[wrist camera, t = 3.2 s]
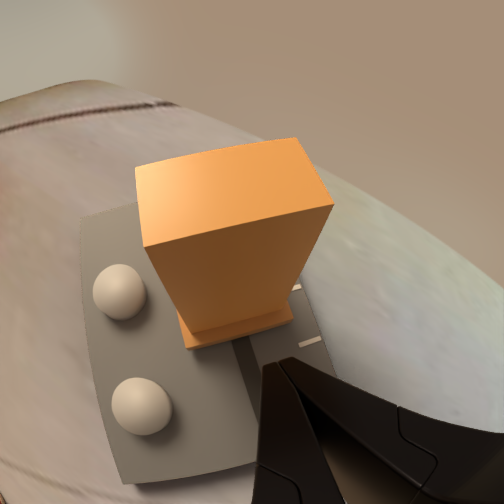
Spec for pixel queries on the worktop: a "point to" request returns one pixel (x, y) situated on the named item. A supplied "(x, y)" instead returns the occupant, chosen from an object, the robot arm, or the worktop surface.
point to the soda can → (1, 500)
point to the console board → (173, 362)
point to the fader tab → (231, 234)
